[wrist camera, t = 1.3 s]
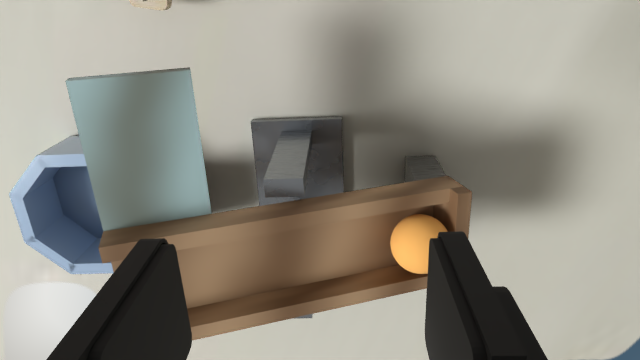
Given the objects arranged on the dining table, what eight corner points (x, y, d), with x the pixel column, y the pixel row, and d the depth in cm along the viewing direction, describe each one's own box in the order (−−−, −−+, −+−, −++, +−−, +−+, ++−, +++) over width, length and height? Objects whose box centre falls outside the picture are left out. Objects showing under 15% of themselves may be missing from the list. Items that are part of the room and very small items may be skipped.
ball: (437, 201, 27) (463, 227, 24) (434, 250, 28) (459, 280, 25) (382, 208, 26) (403, 235, 23) (382, 258, 27) (401, 290, 24)
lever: (447, 44, 24) (484, 52, 22) (435, 260, 29) (463, 289, 27) (69, 78, 20) (51, 92, 17) (130, 324, 25) (124, 366, 22)
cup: (156, 132, 32) (133, 152, 29) (176, 242, 36) (158, 272, 32) (35, 137, 33) (-4, 156, 29) (66, 244, 36) (35, 274, 32)
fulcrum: (436, 112, 31) (472, 159, 23) (430, 244, 35) (459, 325, 27) (160, 122, 32) (98, 171, 24) (183, 250, 36) (137, 330, 28)
